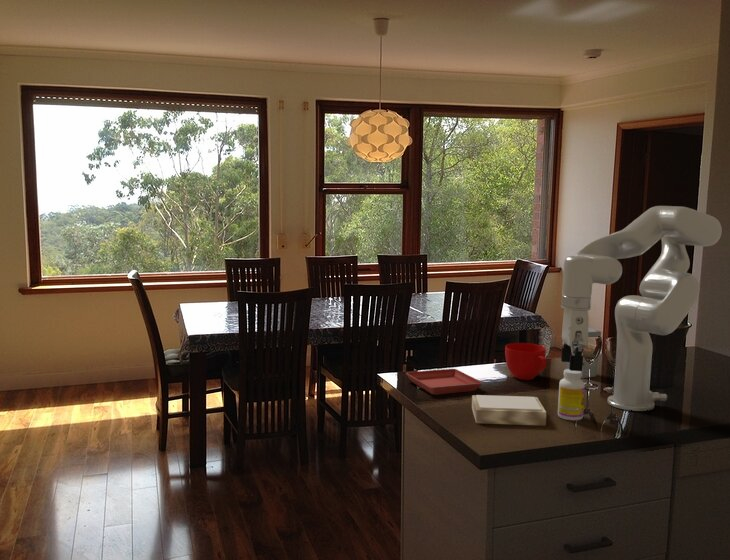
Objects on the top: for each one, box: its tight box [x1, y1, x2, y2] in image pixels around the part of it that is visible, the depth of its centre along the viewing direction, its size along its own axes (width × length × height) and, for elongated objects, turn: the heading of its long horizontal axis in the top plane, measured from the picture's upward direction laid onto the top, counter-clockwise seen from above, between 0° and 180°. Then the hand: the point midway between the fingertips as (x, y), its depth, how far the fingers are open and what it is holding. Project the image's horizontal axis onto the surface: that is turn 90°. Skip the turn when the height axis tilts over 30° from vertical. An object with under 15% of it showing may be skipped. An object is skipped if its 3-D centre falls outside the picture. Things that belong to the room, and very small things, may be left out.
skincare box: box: [565, 327, 602, 379], centre depth 228 cm, size 8×7×16 cm
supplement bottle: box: [557, 368, 586, 422], centre depth 185 cm, size 7×7×13 cm
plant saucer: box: [405, 368, 483, 396], centre depth 213 cm, size 18×18×3 cm
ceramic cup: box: [504, 342, 548, 381], centre depth 223 cm, size 13×17×10 cm
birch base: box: [471, 394, 547, 426], centre depth 186 cm, size 18×13×4 cm
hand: (571, 366), depth 184 cm, fingers open, 9 cm apart
